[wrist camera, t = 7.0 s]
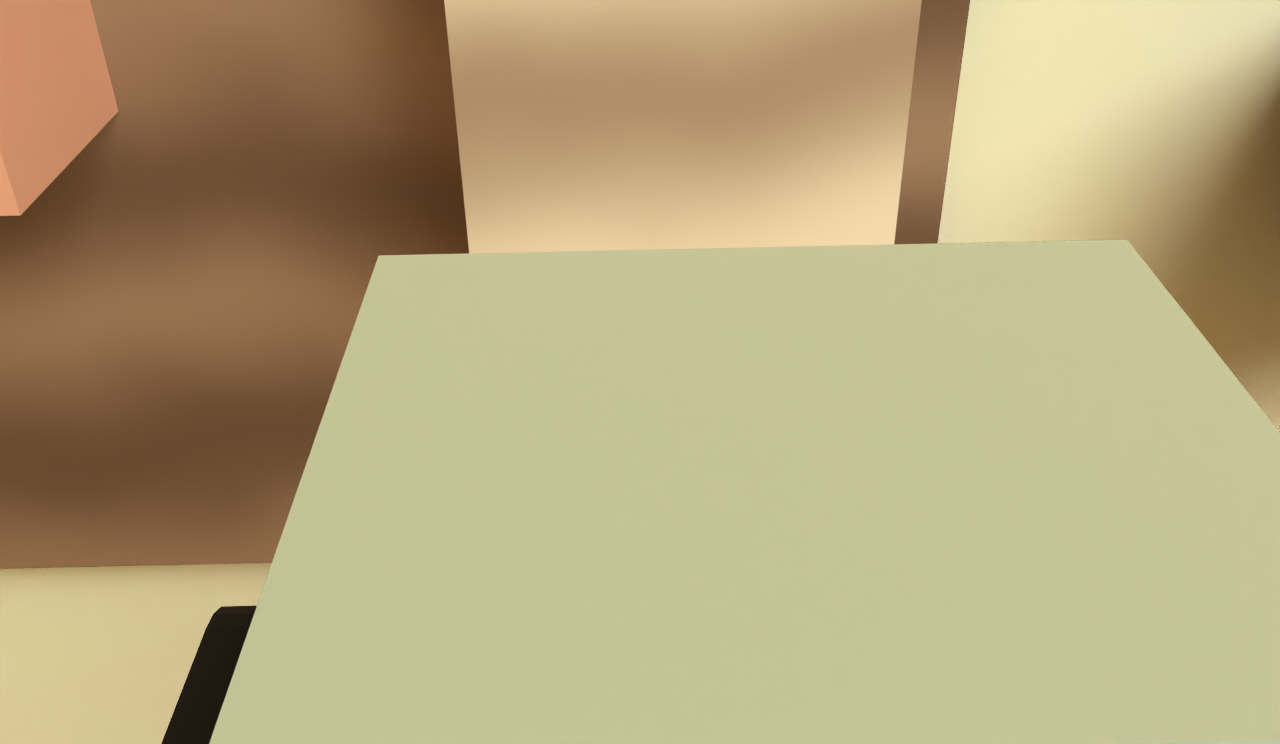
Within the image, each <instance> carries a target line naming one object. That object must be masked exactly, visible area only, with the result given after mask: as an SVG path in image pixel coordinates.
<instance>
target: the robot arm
mask: <svg viewBox="0 0 1280 744" xmlns="http://www.w3.org/2000/svg"><path fill="white" fill-rule="evenodd" d="M256 607H257V606H231V607H221V608H220V609H218V610H217V611H216V612H215V613H214V614H213V616H212V618H211V620H210V622H209V624H208V626H207V628H206V630H205V633H204V635H203V638H202V640H201V643H200V646H199V648H198V651H197V653H196V656H195V659H194V661H193V664H192V666H191V669H190V671H189V674H188V677H187V679H186V682H185V684H184V687H183V690H182V692H181V695H180V697H179V700H178V702H177V705H176V708H175V710H174V713H173V715H172V718H171V721H170V723H169V726H168V728H167V731H166V733H165V736H164V739H163V741H162V744H209V743H210V740H211V737H212V734H213V731H214V728H215V725H216V723H217V720H218V717H219V714H220V711H221V708H222V705H223V702H224V700H225V697H226V694H227V691H228V688H229V685H230V682H231V679H232V676H233V674H234V671H235V668H236V665H237V662H238V659H239V656H240V653H241V651H242V648H243V645H244V642H245V639H246V636H247V633H248V630H249V627H250V625H251V622H252V619H253V616H254V613H255V610H256Z"/></svg>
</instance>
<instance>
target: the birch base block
mask: <svg viewBox="0 0 1280 744" xmlns="http://www.w3.org/2000/svg"><path fill="white" fill-rule="evenodd" d="M921 2H922V0H444V4H445V14H446V24H447V34H448V44H449V54H450V64H451V74H452V84H453V94H454V105H455V115H456V125H457V135H458V145H459V155H460V165H461V175H462V185H463V195H464V205H465V215H466V225H467V236H468V246H469V254H471V253H518V252H564V251H611V250H658V249H704V248H751V247H798V246H844V245H891V244H894V241H895V232H896V224H897V215H898V206H899V197H900V188H901V179H902V170H903V162H904V153H905V144H906V135H907V126H908V117H909V108H910V100H911V91H912V82H913V73H914V64H915V55H916V47H917V38H918V29H919V20H920V11H921Z"/></svg>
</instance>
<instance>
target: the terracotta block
mask: <svg viewBox="0 0 1280 744" xmlns="http://www.w3.org/2000/svg"><path fill="white" fill-rule="evenodd" d="M117 112H118V107H117V103H116V100H115V96H114V92H113V88H112V84H111V80H110V76H109V72H108V68H107V65H106V61H105V57H104V53H103V49H102V45H101V41H100V37H99V33H98V29H97V26H96V22H95V18H94V14H93V10H92V6H91V2H90V0H0V216H19V215H22V213H23V212H24V211H25V210H26V209H27V208H28V207H29V206H30V205H31V204H32V203H33V202H34V201H35V200H36V199H37V198H38V196H39V195H40V194H41V193H42V192H43V191H44V190H45V189H46V188H47V187H48V186H49V185H50V184H51V183H52V182H53V181H54V179H55V178H56V177H57V176H58V175H59V174H60V173H61V172H62V171H63V170H64V169H65V168H66V167H67V166H68V165H69V163H70V162H71V161H72V160H73V159H74V158H75V157H76V156H77V155H78V154H79V153H80V152H81V151H82V150H83V149H84V148H85V146H86V145H87V144H88V143H89V142H90V141H91V140H92V139H93V138H94V137H95V136H96V135H97V134H98V133H99V132H100V131H101V129H102V128H103V127H104V126H105V125H106V124H107V123H108V122H109V121H110V120H111V119H112V118H113V117H114V116H115V115H116V114H117Z"/></svg>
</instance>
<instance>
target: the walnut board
mask: <svg viewBox="0 0 1280 744" xmlns="http://www.w3.org/2000/svg"><path fill="white" fill-rule="evenodd" d="M90 2H91V6H92V10H93V14H94V18H95V22H96V26H97V29H98V33H99V37H100V41H101V45H102V49H103V53H104V57H105V61H106V65H107V68H108V72H109V76H110V80H111V84H112V88H113V92H114V96H115V100H116V103H117V107H118V112H117V114H116V115H115V116H114V117H113V118H112V119H111V120H110V121H109V122H108V123H107V124H106V125H105V126H104V127H103V128H102V129H101V131H100V132H99V133H98V134H97V135H96V136H95V137H94V138H93V139H92V140H91V141H90V142H89V143H88V144H87V145H86V146H85V148H84V149H83V150H82V151H81V152H80V153H79V154H78V155H77V156H76V157H75V158H74V159H73V160H72V161H71V162H70V163H69V165H68V166H67V167H66V168H65V169H64V170H63V171H62V172H61V173H60V174H59V175H58V176H57V177H56V178H55V179H54V181H53V182H52V183H51V184H50V185H49V186H48V187H47V188H46V189H45V190H44V191H43V192H42V193H41V194H40V195H39V196H38V198H37V199H36V200H35V201H34V202H33V203H32V204H31V205H30V206H29V207H28V208H27V209H26V210H25V211H24V212H23V213H22V215H19V216H0V569H9V568H52V567H96V566H139V565H183V564H226V563H270V562H272V561H273V558H274V555H275V553H276V550H277V547H278V544H279V541H280V538H281V535H282V532H283V530H284V527H285V524H286V521H287V518H288V515H289V512H290V509H291V506H292V504H293V501H294V498H295V495H296V492H297V489H298V486H299V483H300V481H301V478H302V475H303V472H304V469H305V466H306V463H307V460H308V457H309V455H310V452H311V449H312V446H313V443H314V440H315V437H316V434H317V432H318V429H319V426H320V423H321V420H322V417H323V414H324V411H325V408H326V406H327V403H328V400H329V397H330V394H331V391H332V388H333V385H334V383H335V380H336V377H337V374H338V371H339V368H340V365H341V362H342V359H343V357H344V354H345V351H346V348H347V345H348V342H349V339H350V336H351V334H352V331H353V328H354V325H355V322H356V319H357V316H358V313H359V311H360V308H361V305H362V302H363V299H364V296H365V293H366V290H367V287H368V285H369V282H370V279H371V276H372V273H373V270H374V267H375V264H376V262H377V259H378V256H379V255H424V254H469V246H468V236H467V225H466V215H465V205H464V195H463V185H462V175H461V165H460V155H459V145H458V135H457V125H456V115H455V105H454V94H453V84H452V74H451V64H450V54H449V44H448V34H447V24H446V14H445V4H444V0H90ZM969 4H970V0H922V2H921V11H920V20H919V29H918V38H917V47H916V55H915V64H914V73H913V82H912V91H911V100H910V108H909V117H908V126H907V135H906V144H905V153H904V162H903V170H902V179H901V188H900V197H899V206H898V215H897V224H896V232H895V241H894V244H937V242H938V234H939V227H940V219H941V212H942V205H943V197H944V190H945V182H946V175H947V167H948V160H949V152H950V145H951V138H952V130H953V123H954V115H955V108H956V100H957V93H958V86H959V78H960V71H961V63H962V56H963V48H964V41H965V33H966V26H967V19H968V11H969Z"/></svg>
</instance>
